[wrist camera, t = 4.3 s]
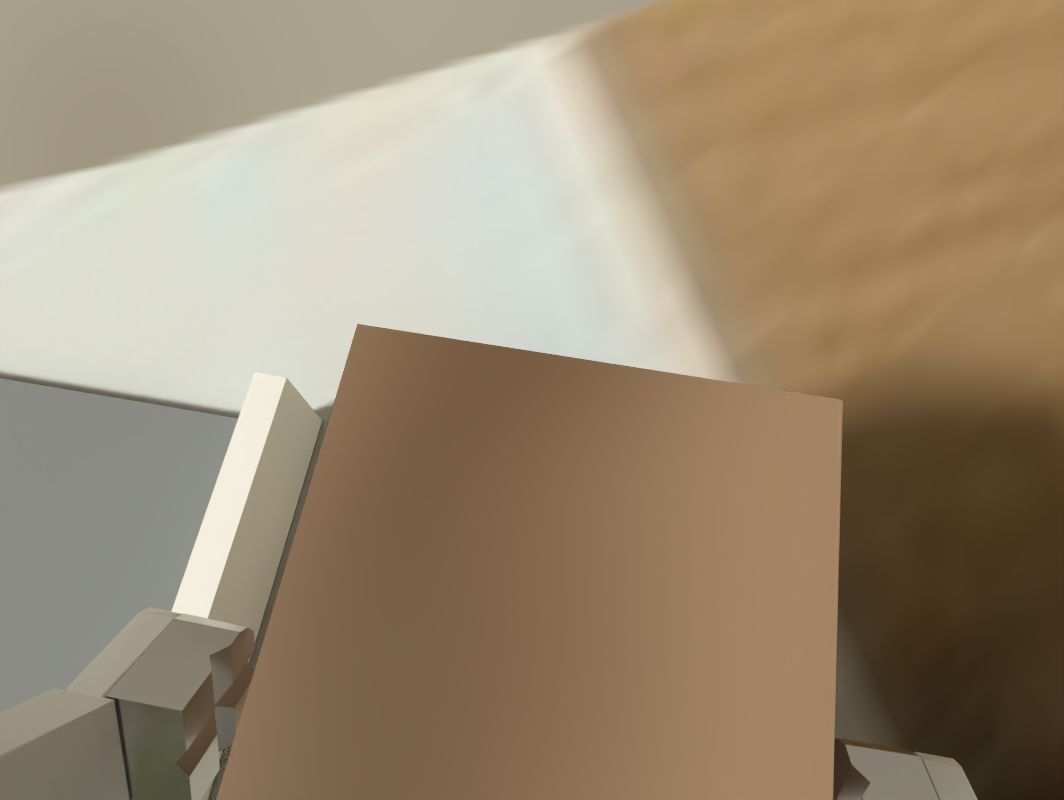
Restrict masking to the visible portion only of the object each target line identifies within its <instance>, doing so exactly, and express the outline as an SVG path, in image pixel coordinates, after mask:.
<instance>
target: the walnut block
mask: <svg viewBox="0 0 1064 800" xmlns="http://www.w3.org/2000/svg"><path fill="white" fill-rule="evenodd" d="M842 414H843V400H840V399H834V398H827V397H821V396H815V395H808V394H802V393H795V392H789V391H783V390H776V389H770V388H763V387H757V386H751V385H744V384H738V383H731V382H725V381H719V380H712V379H706V378H700V377H693V376H687V375H680V374H674V373H668V372H661V371H655V370H648V369H642V368H636V367H629V366H623V365H616V364H610V363H604V362H597V361H591V360H584V359H578V358H572V357H565V356H559V355H552V354H546V353H540V352H533V351H527V350H520V349H514V348H508V347H501V346H495V345H488V344H482V343H476V342H469V341H463V340H456V339H450V338H444V337H437V336H431V335H424V334H418V333H412V332H405V331H399V330H392V329H386V328H380V327H373V326H367V325H360V324H357V328H356V331H355V334H354V338H353V341H352V344H351V348H350V351H349V354H348V358H347V361H346V365H345V368H344V371H343V375H342V378H341V381H340V385H339V388H338V391H337V395H336V398H335V402H334V405H333V408H332V412H331V415H330V418H329V422H328V425H327V428H326V432H325V435H324V438H323V442H322V445H321V449H320V452H319V455H318V459H317V462H316V465H315V469H314V472H313V475H312V479H311V482H310V486H309V489H308V492H307V496H306V499H305V502H304V506H303V509H302V512H301V516H300V519H299V522H298V526H297V529H296V533H295V536H294V539H293V543H292V546H291V549H290V553H289V556H288V559H287V563H286V566H285V570H284V573H283V576H282V580H281V583H280V586H279V590H278V593H277V596H276V600H275V603H274V606H273V610H272V613H271V617H270V620H269V623H268V627H267V630H266V633H265V637H264V640H263V643H262V647H261V650H260V654H259V657H258V660H257V664H256V667H255V670H254V674H253V677H252V680H251V684H250V687H249V690H248V694H247V697H246V701H245V704H244V707H243V711H242V714H241V717H240V721H239V724H238V727H237V731H236V734H235V738H234V741H233V744H232V748H231V751H230V754H229V758H228V761H227V764H226V768H225V771H224V774H223V778H222V781H221V785H220V788H219V791H218V795H217V798H216V800H833V779H834V738H835V697H836V657H837V616H838V576H839V535H840V495H841V454H842Z"/></svg>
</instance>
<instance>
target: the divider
mask: <svg viewBox="0 0 1064 800" xmlns="http://www.w3.org/2000/svg"><path fill="white" fill-rule="evenodd" d="M321 423H322V420H321V419H320V417H319V416H318V415H317V414H316V413H315V411H314V410H313V409H312V408H311V407H310V405H309V404H308V403H307V402H306V400H305V399H304V398H303V397H302V396H301V394H300V393H299V392H298V391H297V390H296V388H295V387H294V386H293V385H292V383H291V382H290V381H289V380H288V379H287V377H280V376H274V375H268V374H262V373H256V372H254V374H253V377H252V380H251V383H250V386H249V389H248V392H247V395H246V397H245V400H244V403H243V406H242V409H241V412H240V415H239V418H238V421H237V423H236V426H235V429H234V432H233V435H232V438H231V441H230V444H229V447H228V449H227V452H226V455H225V458H224V461H223V464H222V467H221V470H220V472H219V475H218V478H217V481H216V484H215V487H214V490H213V493H212V496H211V498H210V501H209V504H208V507H207V510H206V513H205V516H204V519H203V522H202V524H201V527H200V530H199V533H198V536H197V539H196V542H195V545H194V548H193V550H192V553H191V556H190V559H189V562H188V565H187V568H186V571H185V574H184V576H183V579H182V582H181V585H180V588H179V591H178V594H177V597H176V599H175V602H174V605H173V608H172V611H171V612H176V613H181V614H189V615H194V616H198V617H203V618H207V619H212V620H217V621H221V622H226V623H231V624H235V625H240V626H244V627H248V628H250V629H252V630H253V631H254V637H255V642H256V639H257V635H258V632H259V629H260V625H261V622H262V619H263V615H264V612H265V609H266V605H267V602H268V599H269V596H270V592H271V589H272V586H273V582H274V579H275V576H276V572H277V569H278V566H279V562H280V559H281V556H282V552H283V549H284V546H285V542H286V539H287V536H288V532H289V529H290V526H291V523H292V519H293V516H294V513H295V509H296V506H297V503H298V499H299V496H300V493H301V489H302V486H303V483H304V479H305V476H306V473H307V469H308V466H309V463H310V460H311V456H312V453H313V450H314V446H315V443H316V440H317V436H318V433H319V430H320V426H321ZM250 659H251V657H250V658H249V660H248V662H250ZM222 751H223V750H222ZM222 751H220V752H219V761H220V758H221V755H222ZM213 781H214V779H213ZM213 781H212V783H211V784H210V786H209V787H208V789H207V791H206V792H205V794H204V796H203V797H202V799H201V800H208V798H209V795H210V791H211V788H212V785H213Z"/></svg>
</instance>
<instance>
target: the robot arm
mask: <svg viewBox="0 0 1064 800" xmlns="http://www.w3.org/2000/svg"><path fill="white" fill-rule="evenodd" d="M255 649H256V648H255V637H254V631H253V630H252V629H250V628H248V627H244V626H240V625H235V624H231V623H226V622H221V621H217V620H212V619H207V618H203V617H198V616H194V615H189V614H181V613H176V612H171V611H167V610H162V609H158V608H153V607H150V608H147V609H145V610H143V611H141V612H139V613H138V614H137V615H136V616H135V617H134V618H133V619H132V620H131V621H130V622H129V623H128V624H127V626H126V627H125V628H124V629H123V630H122V631H121V632H120V633H119V634H118V635H117V636H116V637H115V638H114V639H113V640H112V641H111V642H110V643H109V644H108V645H107V646H106V647H105V648H104V650H103V651H102V652H101V653H100V654H99V655H98V656H97V657H96V658H95V659H94V660H93V661H92V662H91V663H90V664H89V665H88V666H87V667H86V668H85V669H84V670H83V671H82V673H81V674H80V675H79V676H78V677H77V678H76V679H75V680H74V681H73V682H72V683H71V684H70V685H69V686H68V687H67V688H66V689H65V690H64V689H58V688H53V689H51V690H49V691H47V692H44V693H42V694H40V695H38V696H35V697H33V698H31V699H29V700H27V701H24V702H22V703H20V704H18V705H15V706H13V707H11V708H9V709H6V710H4V711H2V712H0V800H201V799H202V797H203V796H204V794H205V792H206V791H207V789H208V787H209V786H210V784H211V783H212V781H213V779H214V778H215V776H216V775H217V773H218V771H219V770H220V766H219V752H220V751H222V750H224V749H225V748H227V747H229V746H230V745H232V744H233V741H234V738H235V734H236V731H237V727H238V724H239V721H240V717H241V714H242V711H243V707H244V704H245V701H246V697H247V694H248V690H249V687H250V684H251V680H252V677H253V674H254V669H253V668H252V666H251V665H250V664H249V662H248V660H249V658H250V657H251V655H252V654H253V652H254V651H255ZM833 800H978V799H977V797H976V795H975V793H974V791H973V789H972V787H971V785H970V783H969V781H968V779H967V777H966V775H965V773H964V771H963V769H962V767H961V765H960V764H958V763H957V762H956V761H955V760H954V759H953V758H947V757H942V756H936V755H930V754H925V753H919V752H910V751H907V750H902V749H896V748H890V747H885V746H879V745H874V744H868V743H862V742H857V741H851V740H846V739H840V738H836V739H835V740H834V779H833Z"/></svg>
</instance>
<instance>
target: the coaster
mask: <svg viewBox="0 0 1064 800" xmlns="http://www.w3.org/2000/svg"><path fill="white" fill-rule="evenodd" d="M237 421H238V418H234V417H228V416H222V415H216V414H210V413H204V412H198V411H192V410H186V409H180V408H174V407H168V406H162V405H156V404H151V403H145V402H139V401H133V400H127V399H121V398H115V397H109V396H103V395H97V394H91V393H85V392H79V391H73V390H68V389H62V388H56V387H50V386H44V385H38V384H32V383H26V382H20V381H14V380H8V379H2V378H0V712H2V711H4V710H6V709H9V708H11V707H13V706H15V705H18V704H20V703H22V702H24V701H27V700H29V699H31V698H33V697H35V696H38V695H40V694H42V693H44V692H47V691H49V690H51V689H53V688H58V689H64V690H65V689H66V688H67V687H68V686H69V685H70V684H71V683H72V682H73V681H74V680H75V679H76V678H77V677H78V676H79V675H80V674H81V673H82V671H83V670H84V669H85V668H86V667H87V666H88V665H89V664H90V663H91V662H92V661H93V660H94V659H95V658H96V657H97V656H98V655H99V654H100V653H101V652H102V651H103V650H104V648H105V647H106V646H107V645H108V644H109V643H110V642H111V641H112V640H113V639H114V638H115V637H116V636H117V635H118V634H119V633H120V632H121V631H122V630H123V629H124V628H125V627H126V626H127V624H128V623H129V622H130V621H131V620H132V619H133V618H134V617H135V616H136V615H137V614H138V613H139V612H141V611H143V610H145V609H147V608H150V607H153V608H158V609H162V610H167V611H172V608H173V605H174V602H175V599H176V597H177V594H178V591H179V588H180V585H181V582H182V579H183V576H184V574H185V571H186V568H187V565H188V562H189V559H190V556H191V553H192V550H193V548H194V545H195V542H196V539H197V536H198V533H199V530H200V527H201V524H202V522H203V519H204V516H205V513H206V510H207V507H208V504H209V501H210V498H211V496H212V493H213V490H214V487H215V484H216V481H217V478H218V475H219V472H220V470H221V467H222V464H223V461H224V458H225V455H226V452H227V449H228V447H229V444H230V441H231V438H232V435H233V432H234V429H235V426H236V423H237Z"/></svg>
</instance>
